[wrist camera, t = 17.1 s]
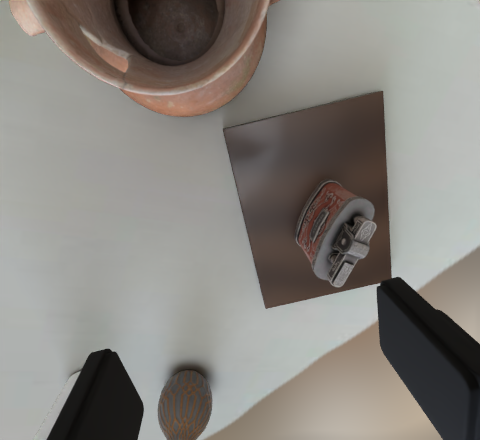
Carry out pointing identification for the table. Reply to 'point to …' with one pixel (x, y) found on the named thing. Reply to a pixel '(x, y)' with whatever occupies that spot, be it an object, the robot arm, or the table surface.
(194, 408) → the vase
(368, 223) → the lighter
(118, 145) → the table surface
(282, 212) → the walnut board
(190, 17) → the ceramic jug
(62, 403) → the can
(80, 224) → the table surface
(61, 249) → the table surface
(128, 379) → the robot arm
